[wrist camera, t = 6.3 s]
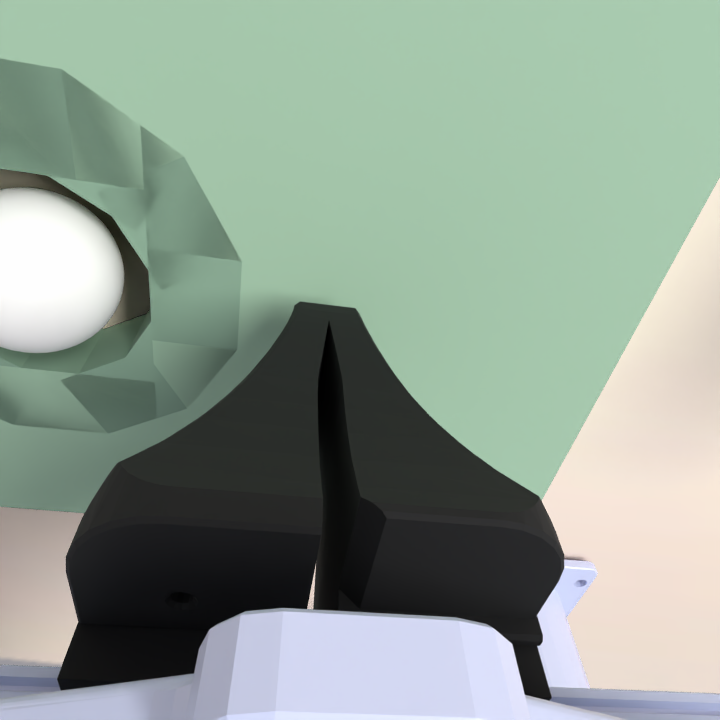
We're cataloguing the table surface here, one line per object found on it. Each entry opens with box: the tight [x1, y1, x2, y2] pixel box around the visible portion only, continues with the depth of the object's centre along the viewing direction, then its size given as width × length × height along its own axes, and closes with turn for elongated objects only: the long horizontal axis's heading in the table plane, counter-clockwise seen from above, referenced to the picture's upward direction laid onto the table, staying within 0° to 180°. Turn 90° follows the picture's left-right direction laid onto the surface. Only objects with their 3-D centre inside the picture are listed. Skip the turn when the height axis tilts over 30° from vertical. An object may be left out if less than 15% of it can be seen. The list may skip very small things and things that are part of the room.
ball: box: [0, 187, 124, 353], centre depth 13 cm, size 4×4×4 cm
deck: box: [0, 0, 720, 513], centre depth 13 cm, size 18×20×2 cm
